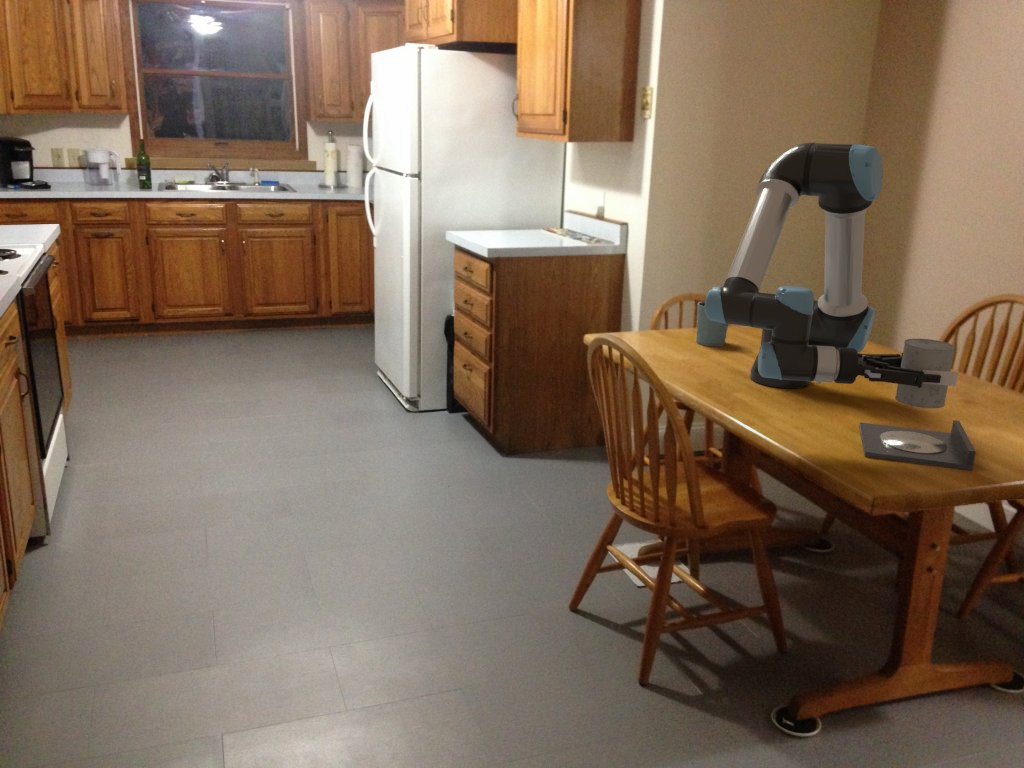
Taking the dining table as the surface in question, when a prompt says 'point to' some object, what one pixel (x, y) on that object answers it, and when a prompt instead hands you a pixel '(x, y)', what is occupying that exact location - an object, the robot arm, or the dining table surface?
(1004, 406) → the dining table surface
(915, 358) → the speckled tin can
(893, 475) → the dining table surface
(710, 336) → the blue grey cup
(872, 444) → the plate
